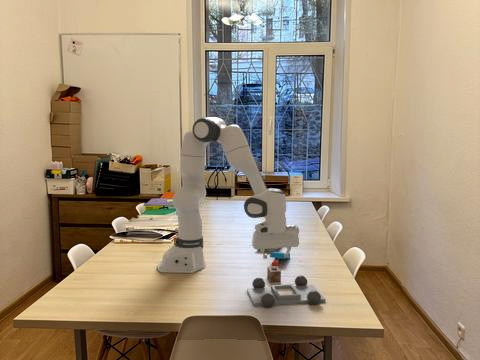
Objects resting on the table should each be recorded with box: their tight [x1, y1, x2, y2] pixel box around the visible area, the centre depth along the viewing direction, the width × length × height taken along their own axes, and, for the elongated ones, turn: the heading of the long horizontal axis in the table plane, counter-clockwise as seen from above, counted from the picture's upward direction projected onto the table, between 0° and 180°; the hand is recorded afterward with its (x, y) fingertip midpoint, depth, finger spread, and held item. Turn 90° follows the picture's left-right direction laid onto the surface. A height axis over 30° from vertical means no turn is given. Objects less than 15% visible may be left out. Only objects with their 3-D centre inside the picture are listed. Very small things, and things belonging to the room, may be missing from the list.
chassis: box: [246, 275, 326, 308], centre depth 167 cm, size 28×17×5 cm, turn 100°
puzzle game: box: [256, 248, 279, 253], centre depth 232 cm, size 12×5×20 cm
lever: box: [269, 251, 291, 268], centre depth 207 cm, size 7×7×18 cm
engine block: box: [266, 265, 282, 284], centre depth 184 cm, size 4×6×6 cm
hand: (275, 257), depth 183 cm, fingers open, 8 cm apart
